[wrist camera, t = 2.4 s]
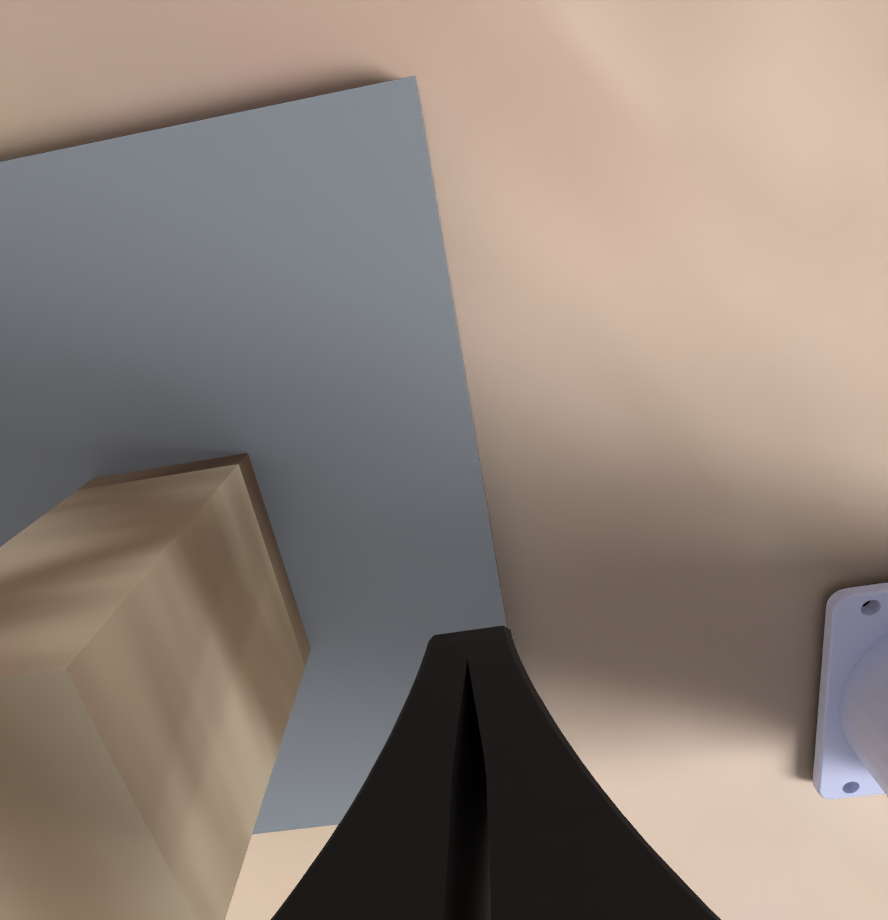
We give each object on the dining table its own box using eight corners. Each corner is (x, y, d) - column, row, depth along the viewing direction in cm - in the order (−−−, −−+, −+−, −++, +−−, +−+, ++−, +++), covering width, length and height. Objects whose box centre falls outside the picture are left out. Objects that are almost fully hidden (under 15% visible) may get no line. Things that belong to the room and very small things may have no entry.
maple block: (247, 452, 15) (65, 669, 8) (310, 649, 17) (214, 953, 10) (92, 478, 15) (-218, 708, 8) (174, 667, 17) (-12, 976, 10)
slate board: (417, 85, 13) (414, 75, 12) (531, 774, 20) (535, 801, 19) (-349, 244, 14) (-406, 246, 13) (25, 834, 21) (6, 862, 20)
